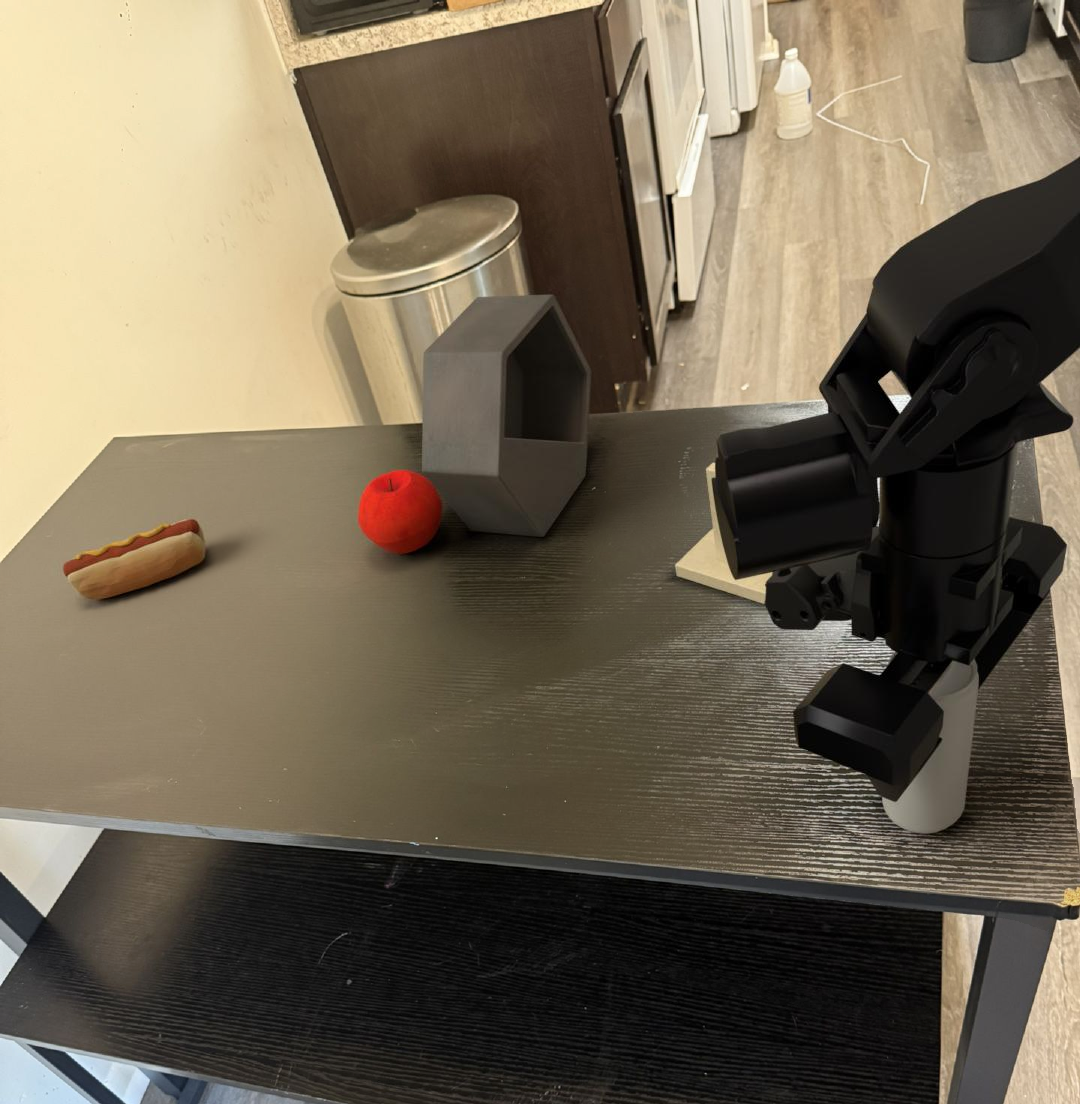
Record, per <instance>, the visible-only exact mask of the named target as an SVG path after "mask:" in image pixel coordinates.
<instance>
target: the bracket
mask: <svg viewBox="0 0 1080 1104" xmlns="http://www.w3.org/2000/svg"><path fill="white" fill-rule="evenodd" d="M705 473H706V481H707V482H706V483H707V490H708V497H709V499H708V500H709V505H710V506H709V507H710V514H711V523H712V528H711V529H710V530H709V531H708V532H707V533H706V534H705V535H704V536H703V537H702V538H701V539H700V540H699V541H698V542H697V543H696V544H695V545H693V547H692V548H691V549H690V550H689V551H688V552H687V553H685V554H684V555H683V556H682V557H681V558H680V559H679V561H677V562H676V563H675V564H674V568H675V574H676V577H678V578H682V579H685V580H688V581H692V582H694V583H698V584H701V585H704V586H707V587H710V588H713V589H715V590H719V591H721V592H725V593H728V594H732V595H733V596H734V595H735V596H738V597H740V598H744V599H747V600H750V601H754V602H757V603H759V604H763V605H765V604H764V602H765V594H766V586H765V584H766V581H767V580H768V579H769V578H770V577H771V576H772V572H770V573H766V574H761V575H757V576H752V577H748V578H743V579H739V580H735V579H734V578H733V576H732V574H731V571H730V568H729V565H728V562H727V559H726V555H725V551H724V547H723V543H722V539H721V535H720V530H719V525H718V520H717V515H716V509H715V503H714V496H713V489H712V479H711V478H714V477H715V462H712V463H711V464H709V465H708V466H707V467H706V468H705Z"/></svg>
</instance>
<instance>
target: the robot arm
mask: <svg viewBox="0 0 1080 1104" xmlns="http://www.w3.org/2000/svg"><path fill="white" fill-rule="evenodd" d="M1079 350H1080V155H1079V156H1078V157H1077V158H1075V159H1074V160H1071V162H1068V163H1067V164H1066V165H1063V166H1062V167H1060V168H1059V169H1057V170H1055V171H1054V172H1052V173H1050V174H1049V175H1046V176H1045V177H1042V178H1041V179H1039V180H1038V179H1037V180H1036V181H1032V182H1030V183H1026V184H1023V185H1020V186H1017V187H1014V188H1011V189H1008V190H1005V191H1002V192H999V193H996V194H992V195H990V196H987V197H984V198H982V199H979V200H977V201H975V202H973V203H972V204H970V205H969V206H967V207H965V208H963V209H961V210H960V211H958V212H957V213H954V214H953V215H951V216H949V217H948V218H946V219H945V220H943V221H941V222H939V223H938V224H935V226H933V227H931V228H929V229H927V230H926V231H924V232H922V233H921V234H919V235H918V236H916V237H915V238H913V239H910V240H909V241H908V242H906V243H905V244H903V245H902V246H900V247H899V248H898V249H897V250H896V251H895V252H894V253H893V254H892V255H891V256H890V257H889V258H888V259H887V260H886V261H885V262H884V263H883V264H882V265H881V267H880V268H879V270H878V272H876V274H875V276H874V278H873V280H872V289H871V292H870V296H869V300H868V303H867V305H866V311H865V314H864V316H863V317H862V319H861V321H860V322H859V324H858V325H857V326H856V328H855V330H853V333H852V334H851V336H850V337H849V338H848V340H847V342H846V343H845V345H844V346H843V348H842V349H841V351H840V352H839V354H838V355H837V357H836V358H835V360H834V361H833V363H832V365H830V368H828V370H827V372H826V373H825V375H824V377H823V378H822V380H821V381H820V383H819V384H818V390H819V393H820V394H821V395H822V396H821V397H823V399H824V401H825V403H826V405H827V412H826V413H822V414H818V415H813V416H809V417H806V418H802V419H797V420H793V421H788V422H784V423H780V424H777V425H772V426H767V427H760V428H758V427H757V428H756V427H755V428H754V427H750V428H742V429H737V430H733V431H727V432H723V433H721V434H719V435H718V437H717V438H716V445H717V446H716V447H717V457H716V458H715V461H714V463H715V477H714V478H711V479H712V489H713V496H714V503H715V509H716V515H717V520H718V525H719V530H720V535H721V539H722V543H723V547H724V551H725V555H726V559H727V562H728V565H729V568H730V571H731V574H732V576H733V578H734V579H735V580H739V579H743V578H748V577H752V576H757V575H761V574H766V573H770V572H772V576H771V577H770V578H769V579H768V580H767V581H766V584H765V586H766V594H765V602H764V604H763V605H764V607H765V609H766V610H767V612H768V615H769V617H770V619H771V622H772V624H774V625H775V626H776V627H778V628H779V629H781V630H784V631H786V630H788V631H790V630H791V631H814V630H815V629H816V628H817V627H818V626H819V625H820V624H821V622H846V621H847V622H848V621H851V623H850V626H851V629H850V630H851V636H853V637H856V638H859V639H861V640H865V641H868V642H875V641H876V640H877V638H881V639H883V640H884V644H885V645H886V646H887V647H888V648H889V649H890V650H892V651H893V652H897V655H896V656H895V657H894V658H893V660H892V661H891V662H890V663H889V665H888V664H887V665H886V667H885V668H884V670H883V671H881V673H880V674H877V673H874V672H870V671H868V670H865V669H862V668H859V667H856V666H854V665H851V664H847V663H845V662H843V663H840V664H838V665H836V666H834V667H832V668H830V669H828V670H826V671H825V673H824V674H823V675H822V677H820V679H819V680H818V681H817V683H815V685H814V686H813V687H812V688H811V690H810V691H808V693H807V694H806V696H804V698H803V699H802V700H801V701H800V703H799V704H798V705H797V706H796V707H795V708H794V709H793V711H792V713H793V714H792V717H793V729H794V738H795V740H796V744H797V747H798V748H800V749H802V750H804V751H807V752H809V753H812V754H814V755H817V756H818V757H821V758H824V759H826V760H828V761H831V762H834V763H836V764H839V765H841V766H844V767H846V768H849V769H851V770H853V771H856V772H858V773H861V774H863V775H865V776H866V777H867V778H868V780H869V781H870V783H871V785H872V787H873V788H874V790H875V792H876V793H877V795H878V796H880V797H881V798H882V797H883V798H886V799H888V800H891V801H893V802H897V801H898V800H899V798H900V797H901V796H902V794H903V793H904V792H905V790H906V789H907V788H908V786H909V785H910V784H911V783H912V781H913V780H914V779H915V777H916V776H917V775H918V774H919V772H920V771H921V770H922V768H923V767H924V765H925V764H926V763H927V761H928V760H929V759H930V757H931V756H932V754H933V753H934V752H935V750H936V749H937V747H938V746H939V745H940V743H941V742H942V738H940V737H939V735H940V732H941V730H942V727H943V718H944V711H943V710H942V708H941V707H940V706H939V705H938V704H937V703H936V702H935V700H934V699H933V698H932V697H931V696H930V694H931V692H932V691H933V690H934V688H935V687H936V686H937V684H938V683H939V682H940V681H941V679H942V678H943V677H944V675H945V674H946V673H947V671H948V670H949V669H950V667H951V666H952V665H953V663H954V662H955V661H956V662H959V663H962V664H965V665H968V666H969V665H970V664H971V662H972V661H973V660H974V659H975V661H976V664H977V672H978V675H979V686H978V690H979V689H980V688H981V687H982V685H983V684H984V683H985V681H986V680H987V679H988V677H989V676H990V675H991V673H992V672H993V671H994V669H995V668H996V666H997V665H998V664H999V663H1000V661H1001V660H1002V658H1003V657H1004V656H1005V654H1006V653H1007V652H1008V651H1009V649H1010V647H1011V646H1012V645H1013V644H1014V642H1015V641H1016V640H1017V638H1018V637H1019V636H1020V634H1021V633H1022V632H1023V630H1024V629H1025V627H1026V626H1027V625H1028V624H1029V622H1030V621H1031V619H1032V618H1033V617H1034V615H1035V614H1036V612H1037V611H1038V609H1039V608H1040V606H1041V605H1042V604H1043V603H1044V601H1046V599H1047V597H1048V596H1049V595H1050V592H1051V588H1052V587H1053V585H1055V583H1056V581H1057V580H1058V579H1059V577H1060V576H1061V575H1062V573H1063V571H1064V566H1065V560H1066V553H1067V548H1068V543H1066V541H1065V540H1064V539H1063V538H1062V536H1060V534H1059V533H1058V532H1057V531H1056V530H1055V529H1054V527H1053V526H1050V525H1046V524H1043V523H1039V522H1037V523H1036V522H1034V521H1033V522H1032V521H1029V520H1025V519H1020V518H1016V517H1010V511H1011V501H1012V493H1013V486H1014V477H1015V470H1016V460H1017V454H1018V453H1017V452H1018V445H1019V444H1018V443H1021V442H1023V441H1027V440H1032V439H1035V438H1040V437H1045V436H1050V435H1054V434H1059V433H1063V432H1066V431H1068V430H1069V429H1071V427H1072V426H1073V424H1074V415H1072V414H1071V413H1070V411H1069V410H1068V409H1067V408H1066V407H1065V406H1064V405H1063V404H1062V403H1061V402H1060V401H1059V400H1058V399H1057V398H1056V397H1055V395H1054V394H1053V393H1052V392H1051V391H1050V390H1049V389H1048V388H1047V387H1046V385H1044V384H1043V383H1042V382H1044V380H1045V379H1047V378H1048V377H1049V376H1050V375H1051V374H1052V373H1053V372H1055V371H1056V370H1057V369H1058V368H1060V366H1062V365H1063V364H1064V363H1065V362H1066V361H1067V360H1069V358H1071V357H1072V356H1073V355H1074V354H1075V353H1076V352H1078V351H1079ZM890 372H892V375H894V377H895V378H896V380H897V381H898V382H899V384H900V385H901V386H902V388H903V389H904V391H905V392H906V393H907V395H908V397H909V398H910V400H908V402H907V403H906V405H905V406H904V408H903V409H902V410H901V412H900V411H899V410H898V409H897V407H896V406H895V404H894V403H893V401H892V400H891V398H890V397H889V395H888V394H887V392H886V391H885V390H884V388H883V387H882V385H881V384H880V380H882V379H883V378H884V377H886V376H887V375H888V374H889V373H890ZM878 479H879V485H878Z"/></svg>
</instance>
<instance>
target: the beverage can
mask: <svg viewBox="0 0 1080 1104" xmlns="http://www.w3.org/2000/svg"><path fill="white" fill-rule="evenodd" d="M896 655H897V652H895V651H893V653H892V654H891V655H890V658H889V659H888V661H887V666H888V665H889V663H890V662H891V661H892V660H893V658H894V657H895V656H896ZM978 686H979V675H978V672H977V664H976V661H975V659H974V660H973V661H972V662H971V664H970V665H969V666H968V665H965V664H962V663H959V662H956V661H955V662H954V663H953V665H952V666H951V667H950V669H949V670H948V671H947V673H946V674H945V675H944V677H943V678H942V679H941V681H940V682H939V683H938V684H937V686H936V687H935V688H934V690H933V691H932V692H931V694H930V696H931V697H932V698H933V699H934V700H935V702H936V703H937V704H938V705H939V706H940V707H941V708H942V710H943V711H944V718H943V727H942V730H941V732H940V735H939V737H940V738H942V742H941V743H940V745H939V746H938V747H937V749H936V750H935V752H934V753H933V754H932V756H931V757H930V759H929V760H928V761H927V763H926V764H925V765H924V767H923V768H922V770H921V771H920V772H919V774H918V775H917V776H916V777H915V779H914V780H913V781H912V783H911V784H910V785H909V786H908V788H907V789H906V790H905V792H904V793H903V794H902V796H901V797H900V798H899V800H898V801H897V802H893V801H891V800H888V799H886V798H883V797H881V798H882V801H881V802H882V806H883V809H884V812H885V813H886V816H887V817H888V818H889V819H890V821H892V822H893V823H894V824H895V825H896V826H898V827H900V828H901V829H903V830H905V831H908V832H912V833H915V834H924V835H925V834H926V835H928V834H934V833H935V834H936V833H937V832H940V831H943V830H946V829H948V828H949V827H950V826H952V825H954V824H955V823H956V822H957V821H958V820H959V819H960V818H961V816H962V814H963V813H964V811H965V808H966V807H965V806H966V799H967V788H968V779H969V771H970V763H971V755H972V748H973V747H972V746H973V738H974V737H973V736H974V730H975V721H976V713H977V712H976V711H977V702H978V695H979V689H978Z"/></svg>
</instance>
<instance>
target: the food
mask: <svg viewBox="0 0 1080 1104" xmlns="http://www.w3.org/2000/svg"><path fill="white" fill-rule="evenodd" d="M206 550H207V549H206V540H205V536H204V531H203V529H202V526H201V525H200V523H198V520H196V519H195V518H185V519H181V520H179V521H177V522H174V523H172V524H170V523H168V522H167V523H162V524H160V525H159V526H157V527H156V528H154V529H152V530H149V531H145V532H144V531H143V532H139V533H136V534H133V535H130V536H129V537H128V538H125V539H123V540H120V541H114V542H113V541H112V542H110V543H108V544H106V545H104V546H102V547H100V548H97V549H93V550H86V551H83V552H81V553H78V554H76V556H75V557H73V558H72V559H71V560H68V561H66V562H65V563H63V566H62V572H63V574H64V576H65V577H66V578H67V581H68V583H69V584H70V585H71V586H72V588H73V589H74V591H76V593H77V594H78V595H80V596H82V597H83V598H84V599H89V600H95V601H96V600H97V601H99V600H103V599H107V598H111V597H115V596H118V595H121V594H125V593H129V592H131V591H135V590H139V589H142V588H146V587H149V586H151V585H153V584H156V583H159V582H160V581H164V580H167V579H171V578H173V577H176V576H178V575H181V574H182V573H183V572H185V571H187V570H189V569H191V568H193V567H195V566H197V565H199V564H200V563H202V562H203V561H204V559H205V557H206Z"/></svg>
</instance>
